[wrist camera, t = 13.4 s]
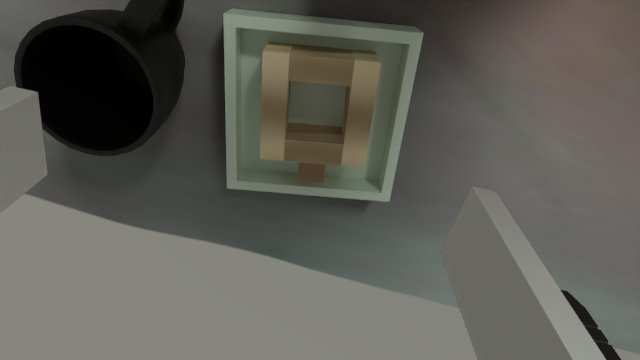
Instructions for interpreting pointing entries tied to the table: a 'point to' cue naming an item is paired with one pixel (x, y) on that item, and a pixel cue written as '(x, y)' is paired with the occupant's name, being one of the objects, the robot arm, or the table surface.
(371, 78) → the wooden rectangular frame
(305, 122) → the tray
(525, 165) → the table surface
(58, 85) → the mug
